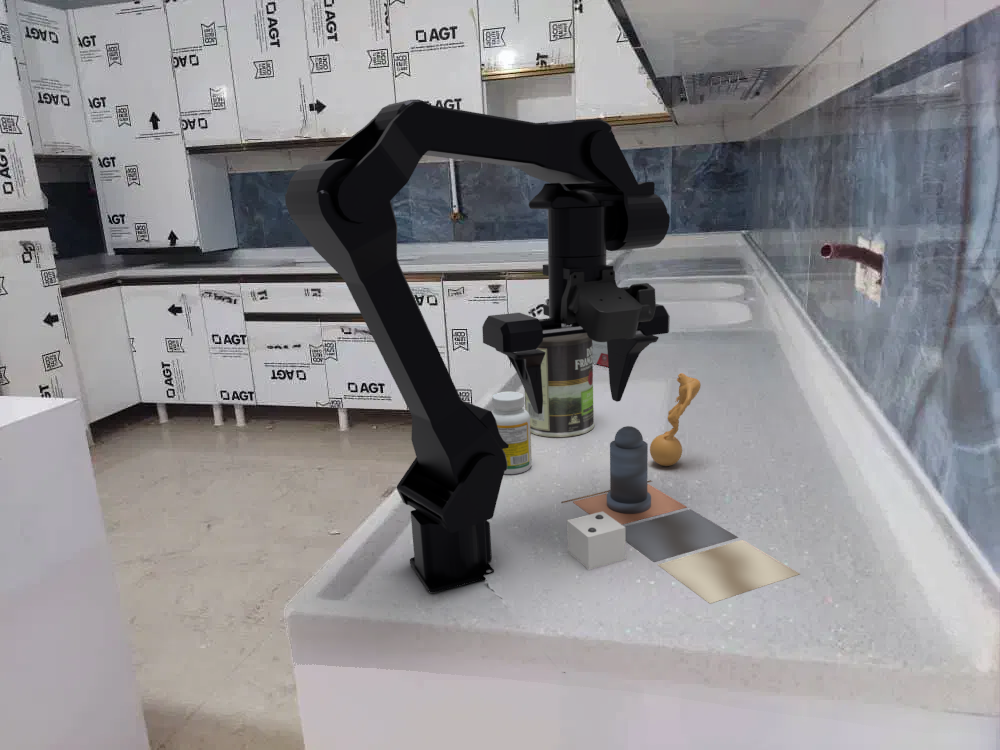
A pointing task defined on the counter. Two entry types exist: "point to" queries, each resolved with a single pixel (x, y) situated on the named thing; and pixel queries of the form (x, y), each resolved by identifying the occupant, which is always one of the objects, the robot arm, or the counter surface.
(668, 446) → the figurine
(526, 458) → the supplement bottle
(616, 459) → the pawn
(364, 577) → the counter surface
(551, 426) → the coffee can
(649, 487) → the game board
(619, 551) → the white die
